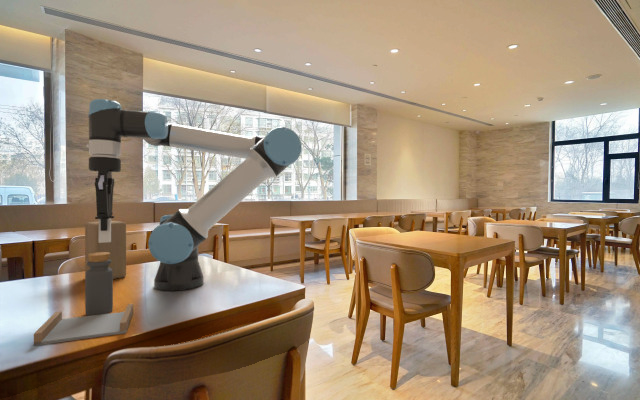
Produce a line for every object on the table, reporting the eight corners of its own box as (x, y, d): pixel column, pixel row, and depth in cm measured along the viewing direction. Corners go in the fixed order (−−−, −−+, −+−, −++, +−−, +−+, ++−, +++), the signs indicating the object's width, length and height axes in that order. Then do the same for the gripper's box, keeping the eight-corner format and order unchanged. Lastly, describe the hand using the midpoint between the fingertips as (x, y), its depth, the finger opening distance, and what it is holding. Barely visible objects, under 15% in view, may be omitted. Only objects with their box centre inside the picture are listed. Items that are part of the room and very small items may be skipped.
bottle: (82, 317, 81) (82, 256, 81) (88, 309, 87) (88, 252, 86) (110, 314, 84) (110, 254, 83) (114, 307, 89) (114, 251, 89)
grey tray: (133, 313, 85) (133, 303, 85) (126, 333, 73) (126, 322, 73) (55, 322, 78) (55, 312, 78) (33, 345, 66) (33, 333, 66)
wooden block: (114, 273, 126) (114, 220, 126) (127, 277, 120) (127, 221, 120) (84, 278, 118) (83, 222, 117) (96, 283, 112) (95, 223, 112)
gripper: (94, 158, 97) (94, 239, 98) (82, 154, 85) (82, 246, 86) (124, 160, 100) (123, 238, 100) (116, 155, 88) (116, 244, 89)
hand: (104, 242), depth 93 cm, fingers closed
